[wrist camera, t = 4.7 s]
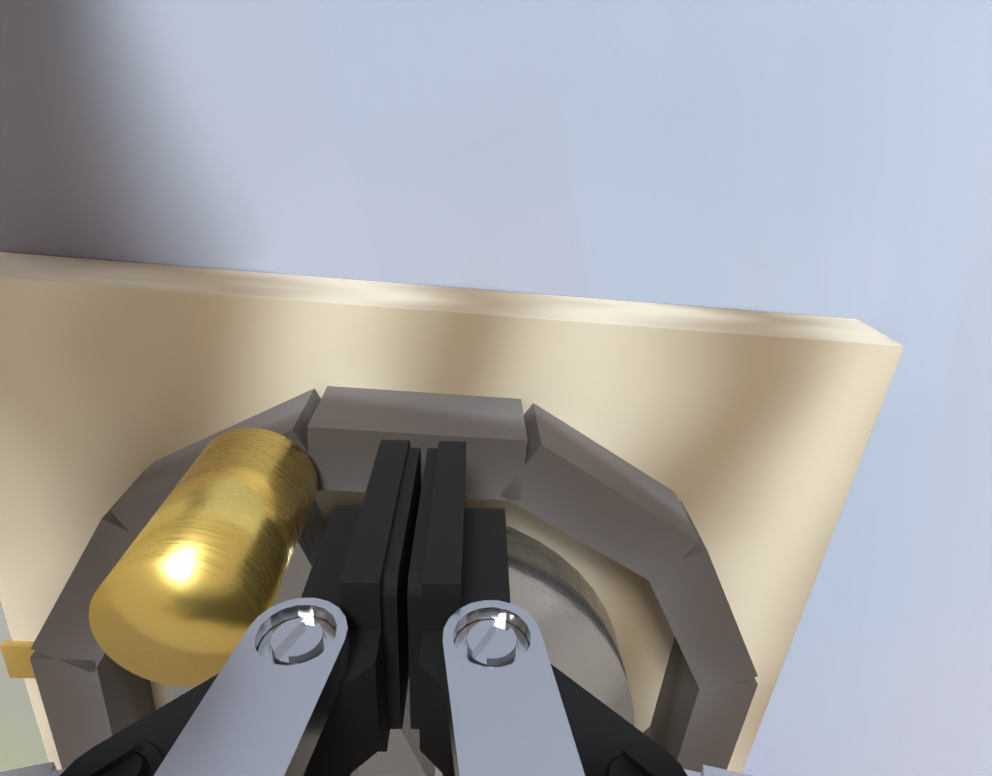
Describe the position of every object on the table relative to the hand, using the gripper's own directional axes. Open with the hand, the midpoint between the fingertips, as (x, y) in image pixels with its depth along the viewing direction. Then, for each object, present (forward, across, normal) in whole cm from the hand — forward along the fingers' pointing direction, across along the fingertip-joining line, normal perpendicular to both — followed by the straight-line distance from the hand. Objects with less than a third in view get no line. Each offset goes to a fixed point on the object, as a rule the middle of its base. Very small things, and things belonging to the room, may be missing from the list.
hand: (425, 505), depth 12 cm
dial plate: (+5, +1, +8) cm, 10 cm away
